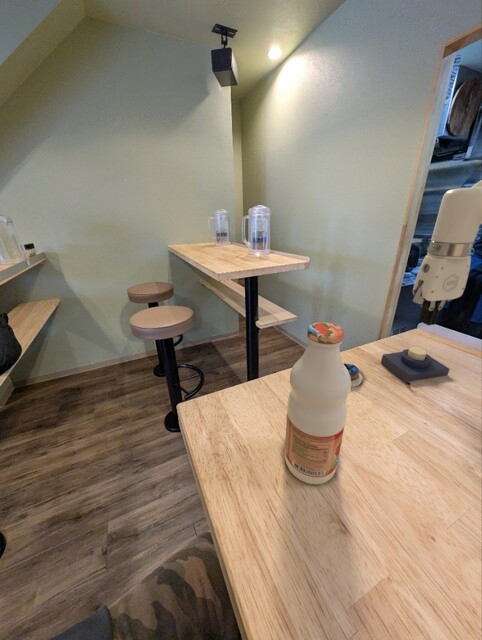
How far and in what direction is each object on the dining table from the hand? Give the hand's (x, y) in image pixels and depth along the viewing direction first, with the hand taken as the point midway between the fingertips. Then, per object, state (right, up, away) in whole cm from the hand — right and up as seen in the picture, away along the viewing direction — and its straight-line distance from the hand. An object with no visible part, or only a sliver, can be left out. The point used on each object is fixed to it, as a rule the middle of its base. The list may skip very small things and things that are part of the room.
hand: (426, 322), depth 64 cm
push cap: (0, -9, +4) cm, 10 cm away
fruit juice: (-35, -26, -17) cm, 47 cm away
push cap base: (0, -14, +6) cm, 15 cm away
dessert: (-19, -15, +4) cm, 25 cm away
